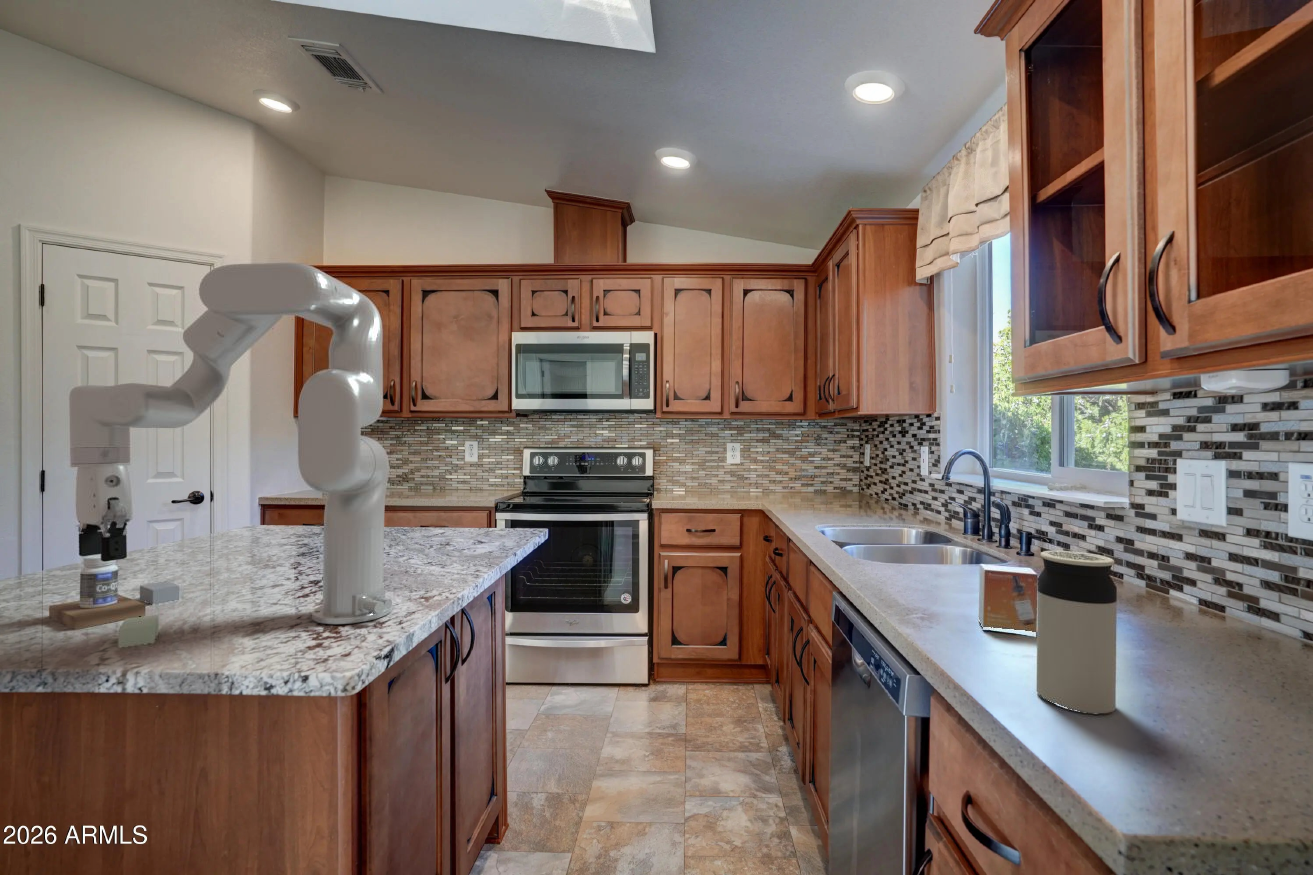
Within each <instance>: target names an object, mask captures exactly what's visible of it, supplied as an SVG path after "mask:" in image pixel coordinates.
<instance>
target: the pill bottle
mask: <svg viewBox="0 0 1313 875" xmlns="http://www.w3.org/2000/svg"><path fill="white" fill-rule="evenodd" d="M116 561H117V560H113V561H106V562H104V561H101V554H97V555H90V556H83V566H84V568H82V569H81V570H80V576H79V577H80V579H79V601H80V607H81V608H98V607H104V606H109V605H112V604H115V603H116V602H117V594H118V592H119V591H118V590H119V588H118V586H119V585H118V584H119V582H118V581H119V567H118V566H117V565H115V564H116Z"/></svg>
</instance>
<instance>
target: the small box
mask: <svg viewBox="0 0 1313 875" xmlns="http://www.w3.org/2000/svg"><path fill="white" fill-rule="evenodd" d="M1038 577H1039V575H1038V573H1036V572H1035V571H1034V570H1033V569H1032V568H1031V567H1021V566H1020V567H1017V566H1005V565H993V564H986V563H979V579H978V580H979V581H978V582H979V585H978V586H979V587H978V588H979V590H978V594H979V595H978V596H979V597H978V618H979V620H980V622H981V624H982V626H983V627H991V628H992V627H993V628H1002V629H1014V630H1025V631H1032V632H1037V607H1038Z"/></svg>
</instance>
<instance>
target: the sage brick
mask: <svg viewBox="0 0 1313 875" xmlns="http://www.w3.org/2000/svg"><path fill="white" fill-rule="evenodd" d="M159 631H160V615H159V614H154V615H145V616H141V617H136V618H129V619H125V620H123V621H122V624H121V625H120V627H119V628H118V649H123V648H122V647H124V648H129V647H128V646H131V647H136V646H135V645H137V646H142V645H141V644H144V645H148V644H147V643H151V644H155V642H156V640H155V639H157V637H158V635H159V633H158V632H159ZM145 643H146V644H145Z"/></svg>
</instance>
